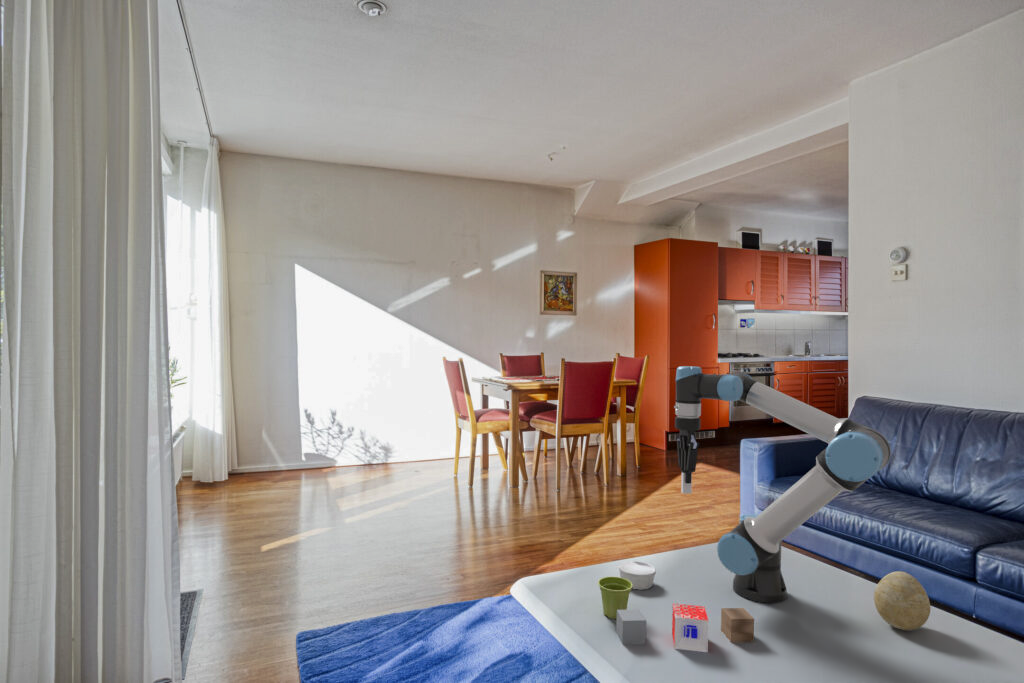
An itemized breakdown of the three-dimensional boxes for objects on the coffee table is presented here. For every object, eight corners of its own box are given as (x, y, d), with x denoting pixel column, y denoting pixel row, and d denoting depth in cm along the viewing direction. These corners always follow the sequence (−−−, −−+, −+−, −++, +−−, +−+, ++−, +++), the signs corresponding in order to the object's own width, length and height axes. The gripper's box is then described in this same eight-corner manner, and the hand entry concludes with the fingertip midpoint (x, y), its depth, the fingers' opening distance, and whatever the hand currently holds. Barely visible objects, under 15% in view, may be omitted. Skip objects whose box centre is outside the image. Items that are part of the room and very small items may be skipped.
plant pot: (631, 624, 160) (632, 592, 160) (596, 620, 162) (597, 588, 162) (631, 608, 169) (632, 578, 169) (598, 605, 171) (599, 575, 171)
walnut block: (743, 630, 158) (743, 608, 158) (753, 642, 152) (754, 618, 152) (720, 630, 158) (721, 608, 158) (730, 642, 152) (731, 619, 152)
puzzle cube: (703, 637, 154) (704, 606, 154) (707, 652, 146) (708, 620, 146) (671, 633, 156) (672, 603, 156) (674, 648, 148) (674, 617, 148)
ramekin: (660, 582, 188) (660, 565, 188) (648, 595, 179) (648, 577, 179) (626, 574, 194) (626, 558, 194) (613, 586, 185) (613, 569, 185)
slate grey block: (639, 632, 156) (639, 609, 156) (645, 644, 150) (646, 620, 150) (616, 632, 156) (616, 609, 155) (622, 644, 150) (622, 620, 149)
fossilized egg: (880, 612, 170) (882, 559, 170) (934, 628, 161) (935, 573, 161) (867, 626, 161) (868, 571, 161) (923, 645, 152) (925, 586, 152)
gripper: (668, 413, 190) (667, 487, 190) (683, 419, 177) (682, 498, 177) (691, 413, 191) (690, 487, 191) (708, 419, 178) (706, 498, 178)
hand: (686, 492), depth 184 cm, fingers closed
